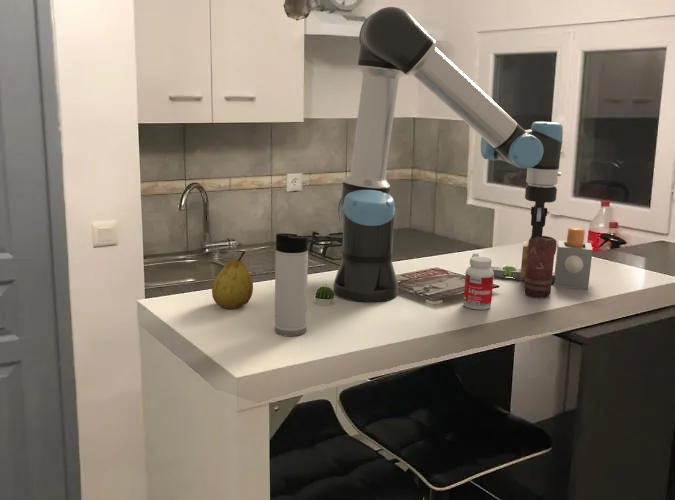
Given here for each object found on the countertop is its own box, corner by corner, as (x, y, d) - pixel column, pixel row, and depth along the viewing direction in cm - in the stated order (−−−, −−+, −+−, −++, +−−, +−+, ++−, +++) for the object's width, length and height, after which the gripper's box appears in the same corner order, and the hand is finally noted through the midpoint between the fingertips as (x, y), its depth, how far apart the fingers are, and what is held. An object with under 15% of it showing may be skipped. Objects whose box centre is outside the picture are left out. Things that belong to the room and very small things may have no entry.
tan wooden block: (519, 280, 185) (523, 246, 183) (520, 274, 191) (523, 241, 189) (544, 282, 184) (547, 248, 182) (544, 276, 189) (547, 243, 187)
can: (552, 299, 171) (558, 241, 168) (524, 297, 172) (529, 239, 169) (550, 292, 177) (556, 235, 173) (523, 290, 178) (528, 234, 175)
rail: (470, 274, 190) (471, 256, 189) (471, 272, 193) (473, 253, 192) (554, 283, 185) (556, 264, 184) (554, 280, 188) (556, 261, 186)
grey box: (554, 286, 182) (558, 247, 180) (554, 277, 190) (557, 240, 187) (588, 289, 180) (592, 250, 178) (586, 280, 188) (590, 243, 185)
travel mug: (267, 332, 144) (268, 233, 139) (287, 323, 149) (289, 227, 144) (292, 339, 140) (294, 238, 136) (312, 330, 146) (314, 232, 141)
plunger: (565, 255, 182) (568, 230, 180) (565, 252, 186) (567, 227, 184) (582, 257, 181) (585, 231, 179) (581, 253, 185) (584, 228, 183)
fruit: (207, 310, 156) (206, 256, 153) (219, 298, 164) (219, 246, 161) (246, 313, 154) (246, 258, 152) (257, 301, 163) (257, 248, 160)
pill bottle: (464, 309, 161) (467, 261, 159) (462, 301, 167) (465, 254, 165) (492, 311, 161) (496, 263, 158) (489, 303, 167) (493, 256, 164)
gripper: (558, 191, 172) (548, 285, 177) (556, 181, 190) (547, 267, 195) (525, 189, 174) (516, 282, 179) (527, 179, 192) (518, 264, 197)
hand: (532, 274), depth 187 cm, fingers closed on tan wooden block, 6 cm apart
